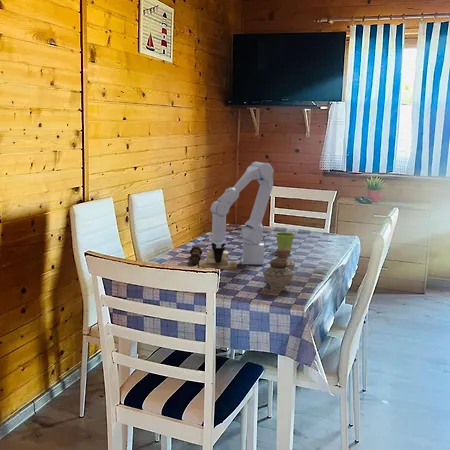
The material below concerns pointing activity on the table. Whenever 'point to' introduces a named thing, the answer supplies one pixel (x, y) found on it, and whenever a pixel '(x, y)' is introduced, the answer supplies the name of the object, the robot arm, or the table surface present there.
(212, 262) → the block
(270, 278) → the pottery
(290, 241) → the plant pot
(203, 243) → the table surface
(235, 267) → the board
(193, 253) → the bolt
